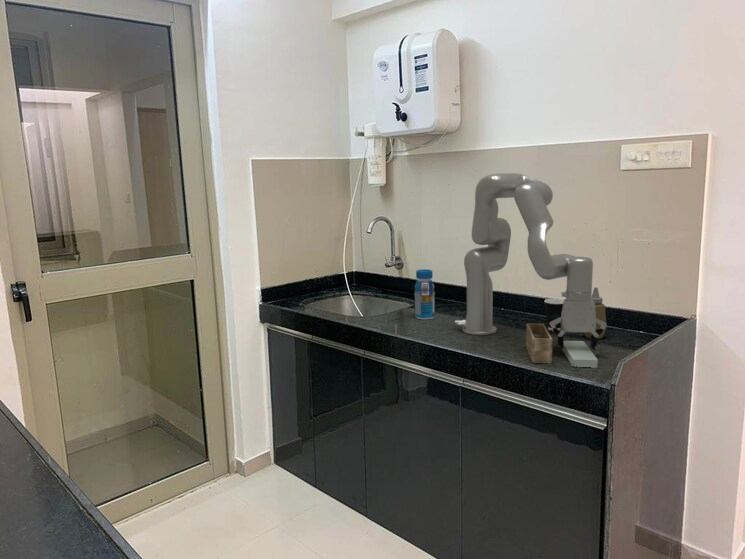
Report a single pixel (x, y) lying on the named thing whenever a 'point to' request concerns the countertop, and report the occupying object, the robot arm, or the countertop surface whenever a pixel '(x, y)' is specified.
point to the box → (539, 343)
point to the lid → (579, 354)
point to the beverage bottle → (424, 295)
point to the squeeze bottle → (598, 312)
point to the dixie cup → (553, 311)
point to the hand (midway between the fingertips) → (576, 348)
